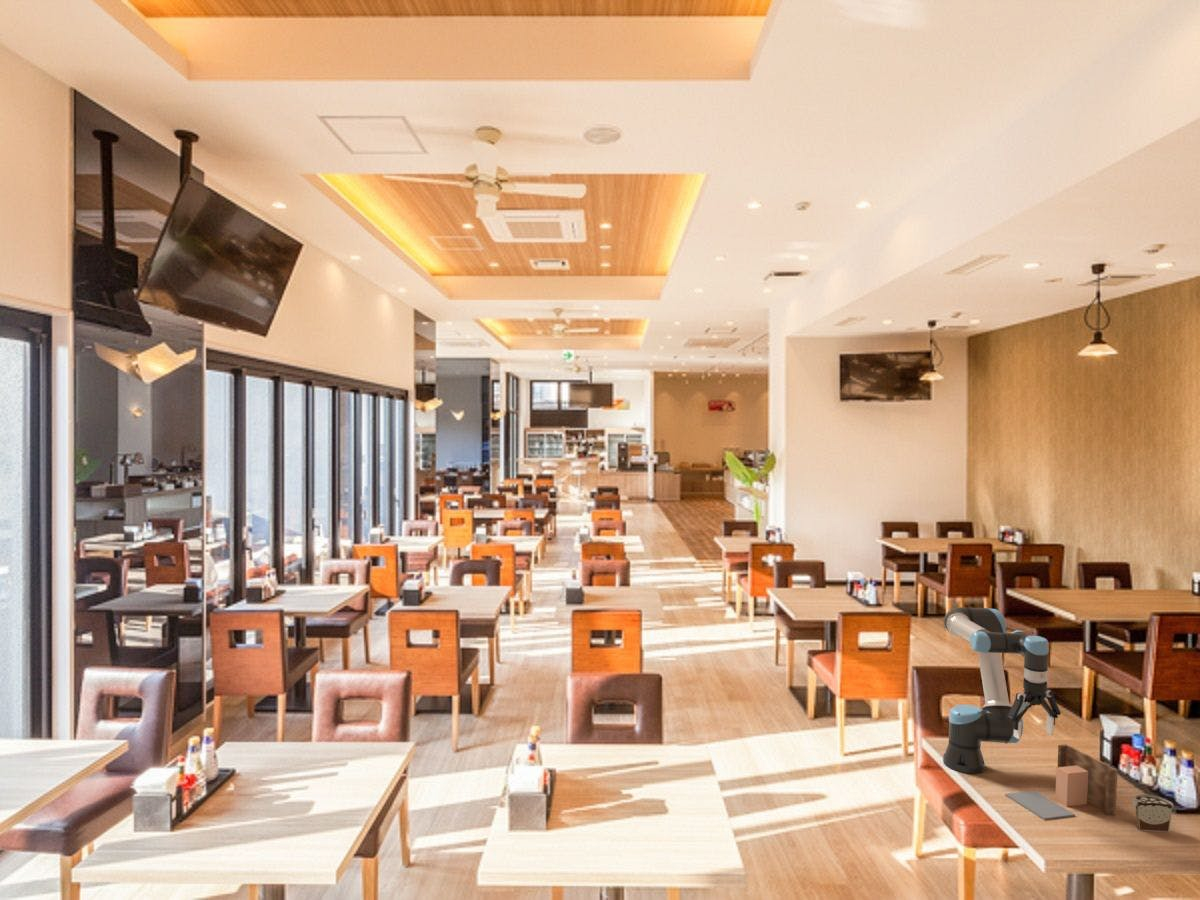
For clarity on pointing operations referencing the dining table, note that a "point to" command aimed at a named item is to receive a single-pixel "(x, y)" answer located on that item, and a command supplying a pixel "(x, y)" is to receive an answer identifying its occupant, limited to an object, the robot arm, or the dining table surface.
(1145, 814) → the food container
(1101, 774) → the brown wooden board
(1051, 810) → the slate mat
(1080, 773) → the carton
